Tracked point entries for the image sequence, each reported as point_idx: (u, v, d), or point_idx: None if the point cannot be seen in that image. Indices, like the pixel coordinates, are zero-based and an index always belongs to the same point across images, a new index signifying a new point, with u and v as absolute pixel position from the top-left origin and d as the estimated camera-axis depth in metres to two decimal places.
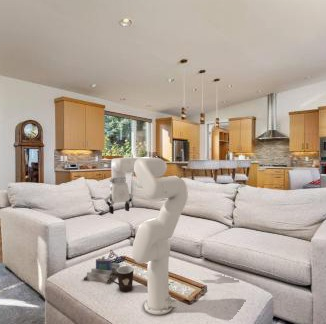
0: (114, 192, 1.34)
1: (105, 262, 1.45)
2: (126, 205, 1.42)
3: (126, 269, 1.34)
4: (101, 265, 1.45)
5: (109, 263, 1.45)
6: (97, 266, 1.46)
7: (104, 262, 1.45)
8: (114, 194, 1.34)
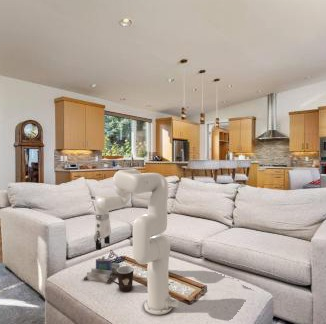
0: (102, 229, 1.41)
1: (105, 262, 1.45)
2: (106, 238, 1.50)
3: (126, 269, 1.34)
4: (101, 265, 1.45)
5: (109, 263, 1.45)
6: (97, 266, 1.46)
7: (104, 262, 1.45)
8: (102, 230, 1.41)
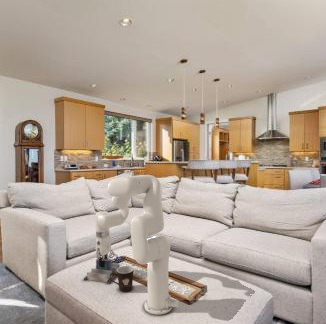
0: (103, 246, 1.41)
1: (105, 262, 1.45)
2: None
3: (126, 269, 1.34)
4: None
5: (109, 263, 1.45)
6: (97, 266, 1.46)
7: (104, 262, 1.45)
8: (103, 248, 1.41)
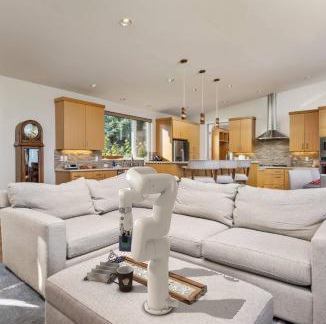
0: (126, 221, 1.42)
1: (128, 238, 1.46)
2: None
3: (126, 269, 1.34)
4: None
5: None
6: (120, 242, 1.47)
7: None
8: (126, 223, 1.42)
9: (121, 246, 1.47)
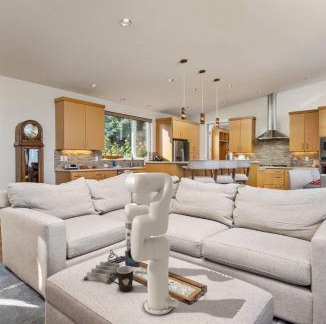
0: None
1: None
2: None
3: (126, 269, 1.34)
4: None
5: None
6: (126, 257, 1.48)
7: None
8: None
9: (127, 261, 1.48)
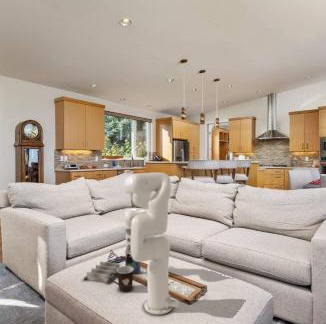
0: None
1: None
2: None
3: (126, 269, 1.34)
4: None
5: None
6: (126, 264, 1.48)
7: (133, 260, 1.47)
8: None
9: None
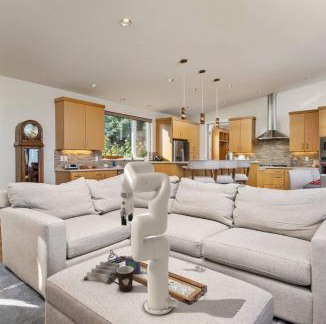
0: (127, 206, 1.50)
1: None
2: (130, 216, 1.59)
3: (126, 269, 1.34)
4: (130, 263, 1.47)
5: None
6: (126, 264, 1.48)
7: (133, 260, 1.47)
8: (128, 207, 1.50)
9: None
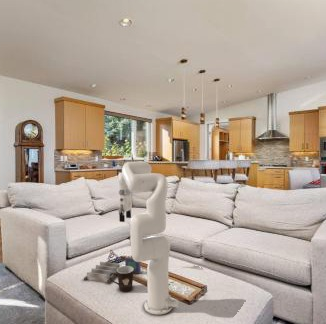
0: (125, 202, 1.53)
1: None
2: (128, 213, 1.63)
3: (126, 269, 1.34)
4: (130, 263, 1.47)
5: None
6: (126, 264, 1.48)
7: (133, 260, 1.47)
8: (126, 204, 1.54)
9: None
